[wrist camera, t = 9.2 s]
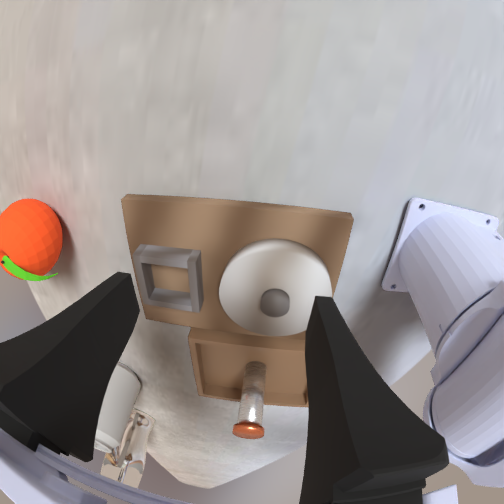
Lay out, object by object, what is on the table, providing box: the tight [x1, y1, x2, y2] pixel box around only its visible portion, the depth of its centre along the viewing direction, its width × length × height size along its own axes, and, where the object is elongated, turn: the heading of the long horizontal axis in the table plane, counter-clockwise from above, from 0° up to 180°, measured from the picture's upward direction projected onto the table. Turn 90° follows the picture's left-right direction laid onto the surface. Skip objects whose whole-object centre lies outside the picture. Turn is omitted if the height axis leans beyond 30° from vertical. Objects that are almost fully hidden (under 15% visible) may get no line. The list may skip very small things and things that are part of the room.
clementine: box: [0, 199, 62, 281], centre depth 19 cm, size 8×7×7 cm
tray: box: [188, 327, 309, 407], centre depth 28 cm, size 13×11×2 cm
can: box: [94, 362, 141, 453], centre depth 29 cm, size 8×8×12 cm
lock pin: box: [233, 361, 267, 439], centre depth 25 cm, size 3×3×8 cm
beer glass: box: [100, 409, 155, 488], centre depth 37 cm, size 7×7×15 cm
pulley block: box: [121, 194, 354, 340], centre depth 21 cm, size 16×12×3 cm
